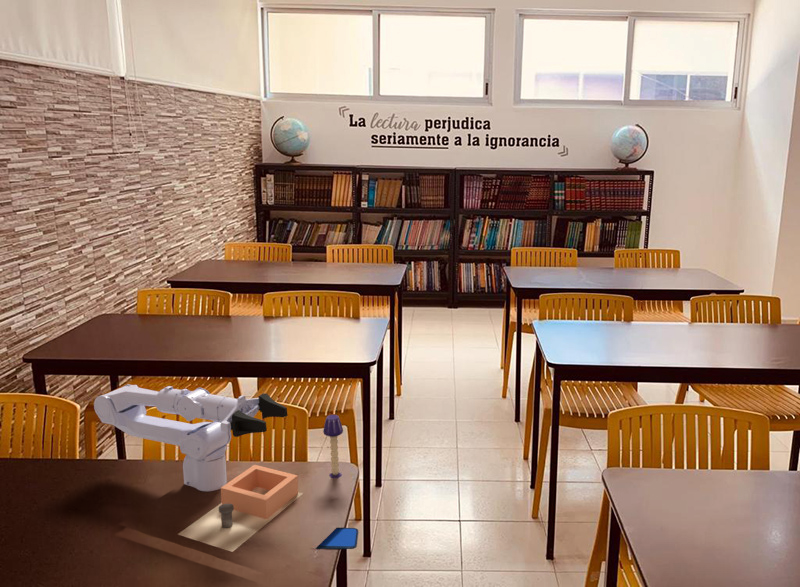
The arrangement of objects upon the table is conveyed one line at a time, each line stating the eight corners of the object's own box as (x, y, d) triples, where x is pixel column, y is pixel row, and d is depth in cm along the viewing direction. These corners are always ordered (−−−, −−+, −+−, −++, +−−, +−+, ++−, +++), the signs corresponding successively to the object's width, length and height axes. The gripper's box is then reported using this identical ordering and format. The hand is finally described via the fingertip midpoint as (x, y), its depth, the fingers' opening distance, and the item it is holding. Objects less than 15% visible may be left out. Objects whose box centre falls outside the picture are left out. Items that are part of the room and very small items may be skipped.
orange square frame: (221, 506, 150) (220, 487, 149) (255, 482, 161) (254, 464, 160) (266, 519, 145) (265, 500, 144) (298, 493, 156) (297, 475, 155)
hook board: (178, 540, 140) (176, 515, 139) (253, 486, 162) (252, 464, 161) (232, 558, 134) (231, 532, 133) (303, 499, 156) (302, 476, 155)
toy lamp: (339, 487, 162) (338, 421, 158) (321, 484, 163) (319, 419, 159) (347, 478, 166) (346, 413, 162) (329, 475, 167) (328, 411, 164)
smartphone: (356, 548, 137) (281, 546, 137) (356, 551, 137) (282, 550, 137) (358, 527, 144) (287, 526, 144) (358, 531, 145) (288, 529, 145)
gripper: (202, 406, 146) (253, 416, 140) (244, 381, 158) (293, 389, 153) (206, 436, 148) (257, 447, 142) (247, 409, 160) (296, 418, 155)
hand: (276, 419), depth 148 cm, fingers open, 7 cm apart
